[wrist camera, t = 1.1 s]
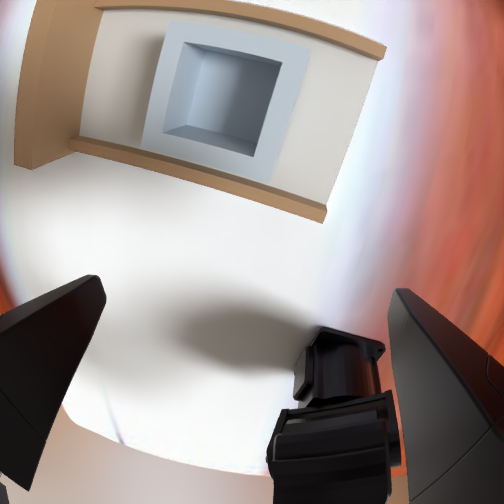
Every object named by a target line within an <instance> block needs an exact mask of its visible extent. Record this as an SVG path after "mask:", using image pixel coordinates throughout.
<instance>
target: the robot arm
mask: <svg viewBox="0 0 504 504" xmlns="http://www.w3.org/2000/svg"><path fill="white" fill-rule="evenodd" d="M105 304H106V294H105V291H104V288H103V285H102V282H101V279H100V278H99V276H97V275H86V276H83V277H81V278H79V279H76V280H74V281H72V282H70V283H68V284H65V285H63V286H61V287H59V288H56V289H54V290H52V291H50V292H48V293H46V294H43V295H41V296H39V297H37V298H35V299H33V300H31V301H28V302H26V303H24V304H22V305H20V306H18V307H16V308H14V309H12V310H10V311H7V312H5V313H4V314H1V315H0V477H1V475H2V473H3V474H4V475H6V476H7V477H8V478H10V479H11V480H13V481H14V482H15V483H17V484H18V485H19V486H21V487H22V488H24V489H25V490H27V491H29V490H30V488H31V485H32V482H33V478H34V476H35V473H36V469H37V467H38V464H39V461H40V457H41V455H42V452H43V449H44V447H45V444H46V440H47V438H48V435H49V433H50V430H51V428H52V425H53V423H54V420H55V418H56V415H57V413H58V411H59V408H60V406H61V404H62V401H63V399H64V397H65V394H66V392H67V390H68V387H69V385H70V383H71V381H72V379H73V376H74V374H75V372H76V370H77V368H78V366H79V364H80V362H81V359H82V357H83V355H84V353H85V351H86V349H87V347H88V345H89V343H90V341H91V339H92V336H93V334H94V331H95V329H96V326H97V324H98V321H99V319H100V316H101V314H102V311H103V309H104V307H105ZM388 329H389V338H390V349H391V361H392V369H393V375H394V380H395V386H396V391H397V397H398V403H399V409H400V416H401V423H402V430H403V438H404V446H405V455H406V465H407V476H408V490H409V501H410V503H409V504H504V366H502V365H501V364H500V363H499V362H498V361H497V360H495V359H494V358H493V357H492V356H491V355H488V353H487V352H486V351H485V350H484V349H483V348H481V347H480V346H479V345H478V344H477V343H476V342H474V341H473V340H472V339H471V338H470V337H468V336H467V335H466V334H465V333H464V332H462V331H461V330H460V329H459V328H458V327H456V326H455V325H454V324H453V323H452V322H450V321H449V320H448V319H447V318H445V317H444V316H443V315H442V314H440V313H439V312H438V311H437V310H435V309H434V308H433V307H432V306H430V305H429V304H428V303H426V302H425V301H424V300H423V299H421V298H420V297H419V296H417V295H416V294H415V293H414V292H412V291H411V290H410V289H408V288H396V289H394V291H393V293H392V297H391V302H390V306H389V310H388ZM323 333H326V334H323ZM380 348H381V349H380ZM385 350H386V348H385V345H384V344H383V343H379V342H376V341H372V340H368V339H364V338H360V337H357V336H353V335H349V334H346V333H342V332H338V331H335V330H331V329H328V328H321V329H320V330H319V331H318V332H317V334H316V336H315V338H314V339H313V341H312V343H311V344H310V346H309V345H308V346H307V347H305V349H304V351H303V352H302V354H301V356H300V357H299V359H298V361H297V362H296V367H295V371H294V375H295V379H294V391H293V398H294V400H297V401H299V403H298V409H290V410H289V409H282V410H281V413H280V416H279V418H278V420H277V423H276V426H275V429H274V431H273V434H272V437H271V440H270V442H269V445H268V448H267V451H266V453H267V456H266V463H267V464H268V469H269V472H270V475H271V477H272V479H273V480H274V496H273V504H386V503H387V501H388V499H389V497H390V495H391V492H392V482H391V468H394V467H399V466H401V448H400V438H399V430H398V423H397V417H396V411H395V406H394V400H393V395H392V390H388V391H385V392H384V393H382V391H381V384H380V378H379V372H378V366H377V361H378V359H379V358H380V357H381V356H382V354H383V353H384V352H385ZM0 504H9V500H8V496H7V491H6V486H4V485H3V484H2V483H1V482H0Z"/></svg>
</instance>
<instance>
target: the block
mask: <svg viewBox="0 0 504 504" xmlns="http://www.w3.org/2000/svg"><path fill="white" fill-rule="evenodd" d="M311 50H312V49H311V48H308V47H304V46H301V45H298V44H294V43H291V42H287V41H283V40H279V39H276V38H272V37H267V36H263V35H259V34H254V33H250V32H245V31H240V30H235V29H229V28H223V27H217V26H211V25H204V24H196V23H187V22H178V21H170V22H169V25H168V29H167V32H166V36H165V39H164V43H163V46H162V50H161V54H160V58H159V62H158V65H157V70H156V74H155V78H154V82H153V87H152V91H151V96H150V100H149V105H148V110H147V115H146V120H145V126H144V131H143V137H142V143H141V148H143V149H147V150H151V151H155V152H159V153H163V154H167V155H171V156H175V157H179V158H182V159H186V160H190V161H193V162H197V163H201V164H204V165H208V166H211V167H215V168H218V169H221V170H225V171H228V172H232V173H235V174H238V175H242V176H245V177H248V178H251V179H254V180H258V181H261V182H264V183H267V184H269V181H270V178H271V176H272V173H273V171H274V168H275V166H276V163H277V160H278V157H279V153H280V150H281V147H282V144H283V141H284V138H285V135H286V132H287V129H288V125H289V122H290V119H291V116H292V113H293V110H294V107H295V104H296V101H297V97H298V94H299V91H300V88H301V85H302V82H303V79H304V76H305V73H306V70H307V66H308V63H309V60H310V55H311Z"/></svg>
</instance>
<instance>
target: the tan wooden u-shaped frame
mask: <svg viewBox="0 0 504 504" xmlns="http://www.w3.org/2000/svg"><path fill="white" fill-rule="evenodd" d="M170 21H178V22H187V23H196V24H204V25H211V26H217V27H223V28H229V29H235V30H240V31H245V32H250V33H254V34H259V35H263V36H267V37H272V38H276V39H279V40H283V41H287V42H291V43H294V44H298V45H301V46H304V47H308V48H311V49H312V50H311V55H310V60H309V63H308V66H307V70H306V73H305V76H304V79H303V82H302V85H301V88H300V91H299V94H298V97H297V101H296V104H295V107H294V110H293V113H292V116H291V119H290V122H289V125H288V129H287V132H286V135H285V138H284V141H283V144H282V147H281V150H280V153H279V157H278V160H277V163H276V166H275V168H274V171H273V173H272V176H271V178H270V181H269V184H267V183H264V182H261V181H258V180H254V179H251V178H248V177H245V176H242V175H238V174H235V173H232V172H228V171H225V170H221V169H218V168H215V167H211V166H208V165H204V164H201V163H197V162H193V161H190V160H186V159H182V158H179V157H175V156H171V155H167V154H163V153H159V152H155V151H151V150H147V149H143V148H141V143H142V137H143V131H144V126H145V120H146V115H147V110H148V105H149V100H150V96H151V91H152V87H153V82H154V78H155V74H156V70H157V65H158V62H159V58H160V54H161V50H162V46H163V43H164V39H165V36H166V32H167V29H168V25H169V22H170ZM386 48H387V47H386V46H384V45H383V44H382V43H380V42H377V41H375V40H373V39H370V38H368V37H365V36H363V35H360V34H358V33H355V32H353V31H350V30H347V29H344V28H342V27H339V26H336V25H333V24H330V23H327V22H324V21H321V20H317V19H314V18H311V17H307V16H304V15H300V14H296V13H293V12H289V11H285V10H281V9H276V8H272V7H267V6H263V5H258V4H252V3H247V2H241V1H235V0H37V2H36V5H35V9H34V12H33V16H32V19H31V23H30V27H29V31H28V36H27V40H26V45H25V50H24V55H23V61H22V66H21V73H20V80H19V87H18V96H17V106H16V118H15V138H14V165H17V166H20V167H24V168H27V169H30V170H33V169H35V168H37V167H40V166H42V165H44V164H47V163H49V162H51V161H54V160H56V159H59V158H61V157H64V156H66V155H69V154H71V153H74V152H76V151H77V152H81V153H85V154H90V155H94V156H98V157H102V158H106V159H110V160H114V161H117V162H121V163H125V164H129V165H133V166H137V167H140V168H144V169H148V170H151V171H155V172H159V173H162V174H166V175H169V176H173V177H176V178H180V179H183V180H187V181H190V182H194V183H197V184H200V185H204V186H207V187H211V188H214V189H217V190H220V191H224V192H227V193H230V194H233V195H237V196H240V197H243V198H246V199H249V200H253V201H256V202H259V203H262V204H265V205H268V206H271V207H274V208H277V209H280V210H283V211H286V212H289V213H292V214H295V215H298V216H301V217H304V218H307V219H310V220H313V221H316V222H319V223H322V224H323V221H324V219H325V216H326V214H327V208H326V204H327V201H328V199H329V196H330V194H331V191H332V189H333V186H334V184H335V181H336V178H337V176H338V173H339V171H340V168H341V165H342V163H343V160H344V157H345V155H346V152H347V149H348V147H349V144H350V141H351V138H352V136H353V133H354V130H355V127H356V125H357V122H358V119H359V116H360V113H361V111H362V108H363V105H364V102H365V99H366V96H367V93H368V90H369V87H370V84H371V81H372V78H373V75H374V72H375V69H376V66H377V63H378V61H380V60H382V59H383V58H384V55H385V52H386Z"/></svg>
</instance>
